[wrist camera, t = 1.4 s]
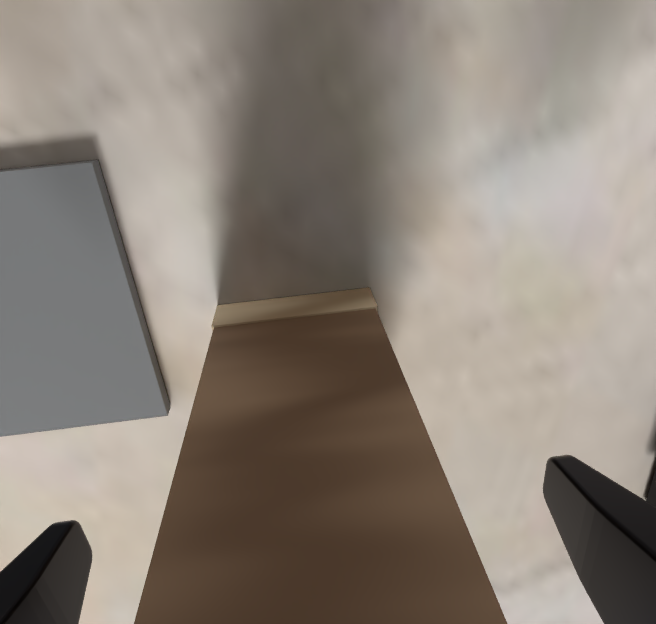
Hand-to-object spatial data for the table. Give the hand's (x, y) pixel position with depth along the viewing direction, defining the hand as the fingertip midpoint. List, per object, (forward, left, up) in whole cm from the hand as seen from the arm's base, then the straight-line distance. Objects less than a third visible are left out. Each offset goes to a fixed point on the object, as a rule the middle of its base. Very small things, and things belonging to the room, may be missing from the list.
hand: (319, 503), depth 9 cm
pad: (+8, -3, -5) cm, 9 cm away
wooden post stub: (0, 0, -5) cm, 5 cm away
